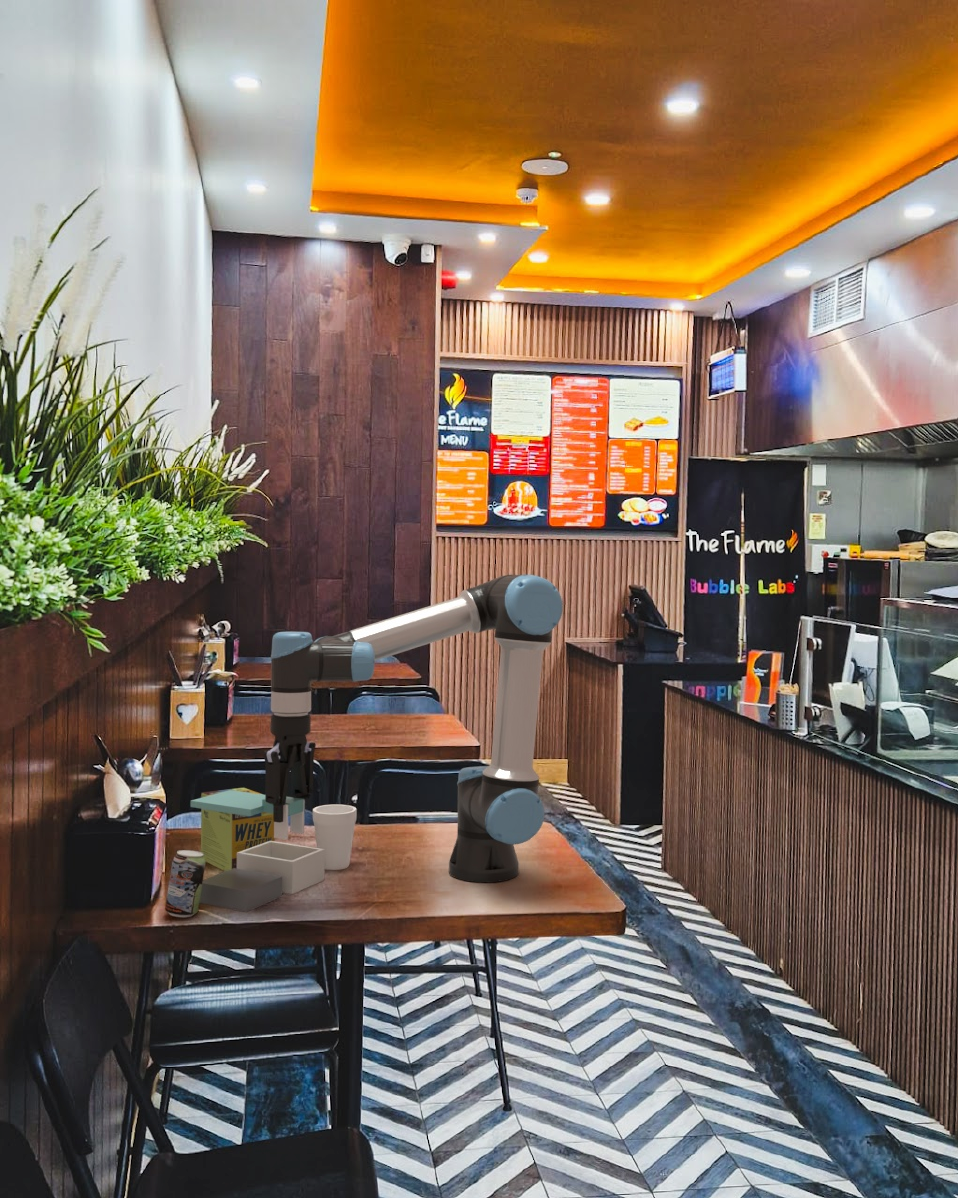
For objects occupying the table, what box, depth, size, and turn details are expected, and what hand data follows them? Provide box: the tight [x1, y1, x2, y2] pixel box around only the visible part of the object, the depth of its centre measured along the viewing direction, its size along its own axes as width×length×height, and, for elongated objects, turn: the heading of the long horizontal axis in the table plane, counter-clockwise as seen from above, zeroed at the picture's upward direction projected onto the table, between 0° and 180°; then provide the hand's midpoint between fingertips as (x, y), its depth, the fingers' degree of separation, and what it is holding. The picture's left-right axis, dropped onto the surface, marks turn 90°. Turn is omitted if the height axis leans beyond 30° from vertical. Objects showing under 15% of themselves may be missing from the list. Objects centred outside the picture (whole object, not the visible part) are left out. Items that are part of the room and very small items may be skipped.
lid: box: [190, 789, 304, 817], centre depth 205 cm, size 21×12×3 cm, turn 63°
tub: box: [237, 840, 325, 895], centre depth 218 cm, size 14×11×7 cm
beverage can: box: [164, 849, 207, 918], centre depth 198 cm, size 6×7×12 cm
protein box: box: [200, 787, 276, 872], centre depth 232 cm, size 10×15×16 cm
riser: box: [199, 868, 283, 913], centre depth 207 cm, size 12×11×4 cm
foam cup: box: [312, 804, 358, 871], centre depth 230 cm, size 10×9×13 cm
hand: (289, 835), depth 201 cm, fingers closed on lid, 4 cm apart
